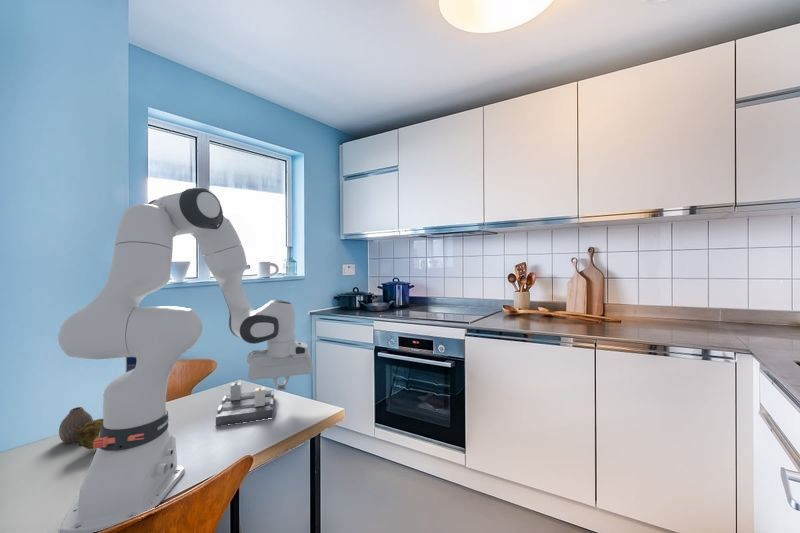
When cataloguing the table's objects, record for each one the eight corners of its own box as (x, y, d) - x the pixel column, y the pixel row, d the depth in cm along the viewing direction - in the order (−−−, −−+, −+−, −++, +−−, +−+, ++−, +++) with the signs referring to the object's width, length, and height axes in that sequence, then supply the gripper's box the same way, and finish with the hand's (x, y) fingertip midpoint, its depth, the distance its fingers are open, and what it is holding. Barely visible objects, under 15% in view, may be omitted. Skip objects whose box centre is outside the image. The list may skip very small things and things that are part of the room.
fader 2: (264, 405, 109) (264, 389, 109) (254, 406, 108) (254, 390, 108) (265, 402, 112) (265, 386, 112) (255, 403, 111) (255, 387, 111)
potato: (142, 441, 93) (142, 412, 93) (78, 463, 83) (78, 430, 83) (134, 432, 98) (134, 404, 98) (72, 451, 88) (72, 420, 88)
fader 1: (240, 399, 114) (240, 383, 114) (230, 400, 113) (230, 384, 113) (241, 396, 117) (241, 381, 117) (231, 397, 116) (231, 382, 116)
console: (272, 419, 106) (272, 407, 106) (215, 426, 101) (215, 414, 101) (274, 398, 123) (274, 387, 123) (225, 403, 118) (225, 393, 118)
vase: (71, 448, 89) (71, 415, 89) (51, 445, 91) (51, 412, 91) (99, 435, 96) (99, 404, 96) (80, 432, 97) (80, 402, 97)
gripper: (246, 353, 106) (246, 397, 106) (313, 348, 113) (313, 388, 113) (248, 348, 112) (248, 389, 112) (311, 343, 119) (311, 382, 119)
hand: (281, 389), depth 113 cm, fingers closed
